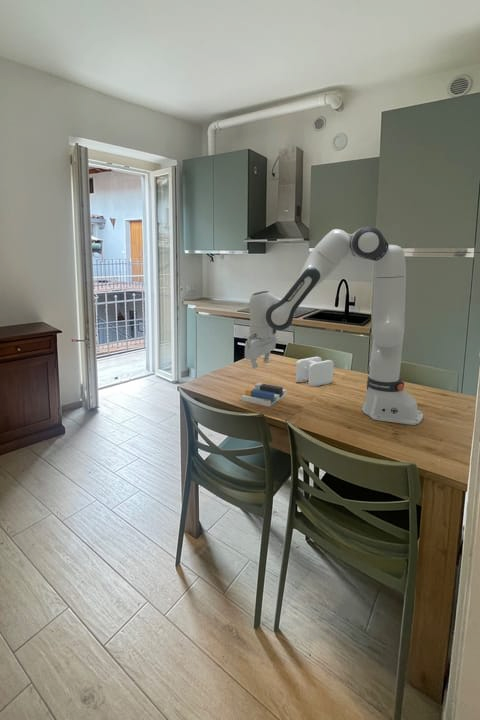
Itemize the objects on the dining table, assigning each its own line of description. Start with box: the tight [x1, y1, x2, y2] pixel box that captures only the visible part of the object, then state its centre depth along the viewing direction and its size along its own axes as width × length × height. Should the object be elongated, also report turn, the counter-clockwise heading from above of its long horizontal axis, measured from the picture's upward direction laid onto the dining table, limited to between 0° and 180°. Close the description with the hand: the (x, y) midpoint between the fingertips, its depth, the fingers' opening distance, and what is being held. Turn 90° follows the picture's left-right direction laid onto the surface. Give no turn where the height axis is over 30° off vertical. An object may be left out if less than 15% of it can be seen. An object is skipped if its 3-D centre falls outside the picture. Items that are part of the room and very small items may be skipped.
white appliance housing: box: [241, 389, 287, 407], centre depth 173 cm, size 13×16×3 cm
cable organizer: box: [295, 356, 335, 388], centre depth 194 cm, size 15×11×12 cm
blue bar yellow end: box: [245, 387, 274, 405], centre depth 170 cm, size 12×3×4 cm, turn 59°
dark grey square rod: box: [254, 382, 284, 398], centre depth 176 cm, size 12×3×4 cm, turn 59°
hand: (260, 365), depth 166 cm, fingers open, 8 cm apart
